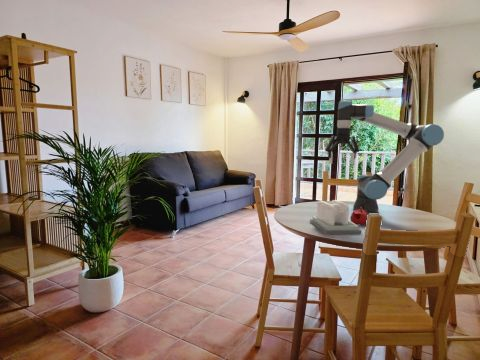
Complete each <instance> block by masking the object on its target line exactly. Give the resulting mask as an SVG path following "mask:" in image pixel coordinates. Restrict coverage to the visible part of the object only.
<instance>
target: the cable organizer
mask: <svg viewBox="0 0 480 360" xmlns="http://www.w3.org/2000/svg"><path fill="white" fill-rule="evenodd" d="M349 211H350V206H349V204H347V203H345V202H342V201H340V200H336V199H332V200H331V202H330V203H329V202H325V201H324V200H319V201H317V206H316V216H317V218H318V219H319V220H321V221H322V222H324V223H325V224H326V225H328V226H334V223H339V224H340V225H341V226H346V225H347V224H348V220H349Z"/></svg>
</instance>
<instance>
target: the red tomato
mask: <svg viewBox="0 0 480 360" xmlns="http://www.w3.org/2000/svg"><path fill="white" fill-rule="evenodd" d="M355 210H356V209H354V210H353V211H352V213H351V214H350V218H349V220H350V221H351V222H353V223H354V224H356V225H358V226H367V225H366V220H367V215H369V213H366V212H364V211H362V210H363V209H362V207H360V210H359V209H358V210H356V211H355Z"/></svg>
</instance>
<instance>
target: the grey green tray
mask: <svg viewBox="0 0 480 360" xmlns="http://www.w3.org/2000/svg"><path fill="white" fill-rule="evenodd" d="M309 223H311V224H312V225H313V226H314V227H316V228H317V229H319V231H321V232H322V233H324V235H340V234H341V235H350V234H351V235H354V234H355V235H356V234H359V235H360V234H362V229H360V225H356V224H354V223H353V222H351V220H350V219H348V224H347V225H346V226H341V225H340V224H339V223H334V226H328V225H326V224H325V223H324V222H322V221H321V220H319V219H318V218H317V215H313V216H312V218H310V219H309Z"/></svg>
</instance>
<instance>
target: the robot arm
mask: <svg viewBox="0 0 480 360" xmlns="http://www.w3.org/2000/svg"><path fill="white" fill-rule="evenodd" d="M337 107H338V108H337V120H336V121H337V123H336V125H337V126H336V127H337V129H336V135H331V137H330V140H329V142H328V144H327V146H326V148H325V150H324V152H327V157H328V159H329V161H328V164H329V165H332V164H333V156H334V155H333V153H334V152H333V151H334V150H335V149H336V148H337V146H338V145H340V144H341V145H342V144H345V145H347V146H348V148H349V149H350V150H351V153H350V164H351V165H354V164H355V159H356V158H357V157H356V156H357V153H359V152H360V149H359V146H358V144H357V142H356V137H355V135H353V136H351V126H352V125H351V124H352V123H351V122H352V120H357V121H360V122H363V123H366V124H368V125H371V126H374V127H377V128H379V129H383V130H385V131H388V132H391V133H394V134H396V135H399V136H401V138H403V139H406V140H407V141H409V143H408V144H407V145H406V146H405V147H403V149H401V150H400V152H398V153H397V154H396V155H395V156H394V157H393V159H391V160H390V161H389V162H388V164H386V166H384V167H383V168H382V169H381V171H379V172H374V173H373V174H359V175H358V178H357V190H356V199H355V201H354V204H353V208H352V210H353V211H356V210H358V209H359V210H360V207H362V209H363V210H362V211H364V212H366V213H368V214H373V213H374V214H377V213H378V212H379V205H378V201H377V200H381V199H383V198H385V196H386V195H387V193H388V190H389V189H390V188H391V187H392V182H394V180H395V179H396V178H397V177H398V176H399V175H400V174H401V173H402V172H403V171H405V170H406V168H408V167H409V166H410V164H412V163H413V162H414V161H415V160H416V159H417V158H418V157H419V156H420V155H421V154H422V153H426V152H429V150H431V148H433V147H434V146H437V145H439V144H441V143H442V141H443V140H444V139H445V138H444V137H445V132H444V130H443V128H442V127H441V126H440V125H438V124H434V123H428V124H422V125H421V124H414V123H411V122H410V123H406V122H403V121H401V120H398V119H394V118H391V117H390V116H386V115H383V114H380V113H377V112H375V107H374V105H372V104H369V103H368V104H354V103H353V101H352V100H340V101H338V106H337ZM335 140H336V141H335ZM333 143H334V144H333ZM354 209H356V210H354Z"/></svg>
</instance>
